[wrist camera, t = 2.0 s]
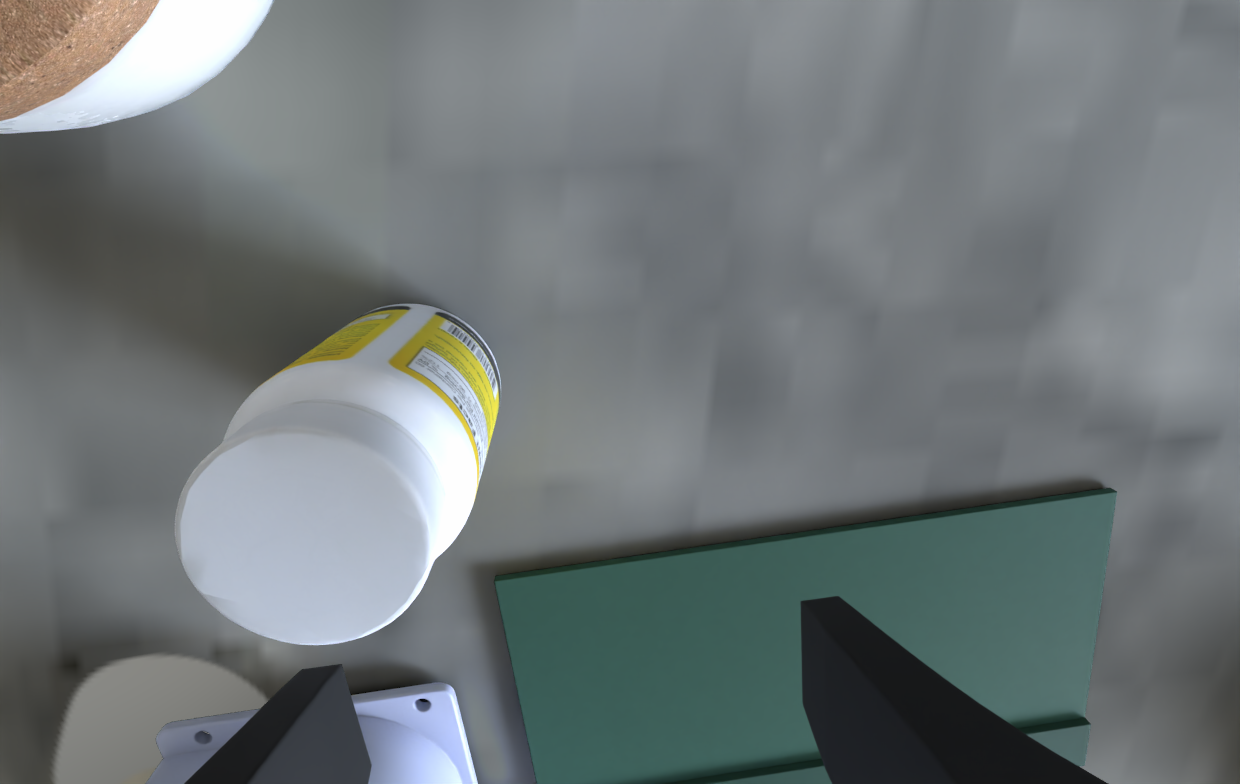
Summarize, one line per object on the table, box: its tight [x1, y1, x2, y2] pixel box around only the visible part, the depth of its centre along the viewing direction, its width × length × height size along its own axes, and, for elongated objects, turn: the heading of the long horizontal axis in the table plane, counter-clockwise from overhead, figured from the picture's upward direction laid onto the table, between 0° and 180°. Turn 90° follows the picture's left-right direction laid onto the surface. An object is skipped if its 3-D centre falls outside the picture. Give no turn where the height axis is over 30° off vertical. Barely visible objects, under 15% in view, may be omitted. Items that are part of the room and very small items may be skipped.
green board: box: [494, 488, 1117, 784], centre depth 22 cm, size 20×12×1 cm, turn 97°
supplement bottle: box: [175, 304, 501, 645], centre depth 14 cm, size 5×5×8 cm
